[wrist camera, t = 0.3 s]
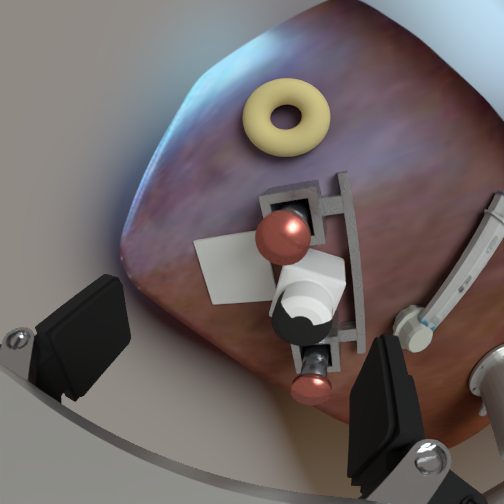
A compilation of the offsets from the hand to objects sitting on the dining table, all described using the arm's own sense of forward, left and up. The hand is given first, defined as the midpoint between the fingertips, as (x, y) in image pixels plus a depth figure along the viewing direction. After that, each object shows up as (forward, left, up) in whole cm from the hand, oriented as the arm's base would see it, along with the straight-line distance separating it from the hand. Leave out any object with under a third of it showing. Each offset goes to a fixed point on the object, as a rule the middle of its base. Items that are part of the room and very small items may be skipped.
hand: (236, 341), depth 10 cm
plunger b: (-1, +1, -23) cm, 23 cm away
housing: (-10, -1, -28) cm, 29 cm away
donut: (+10, 0, -28) cm, 30 cm away
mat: (-8, +11, -28) cm, 31 cm away
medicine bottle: (-10, +1, -28) cm, 30 cm away
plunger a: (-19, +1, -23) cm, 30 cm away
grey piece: (-12, -19, -28) cm, 36 cm away
